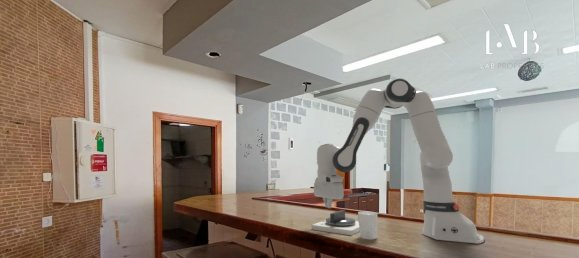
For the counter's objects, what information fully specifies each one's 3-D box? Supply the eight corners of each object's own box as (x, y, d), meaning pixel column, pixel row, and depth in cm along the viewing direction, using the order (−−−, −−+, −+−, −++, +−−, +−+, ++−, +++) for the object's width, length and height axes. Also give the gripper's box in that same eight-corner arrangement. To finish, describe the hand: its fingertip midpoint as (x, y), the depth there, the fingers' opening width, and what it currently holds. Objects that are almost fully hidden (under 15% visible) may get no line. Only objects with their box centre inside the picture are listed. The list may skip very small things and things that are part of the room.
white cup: (379, 236, 119) (378, 212, 120) (377, 240, 112) (375, 215, 113) (360, 234, 122) (359, 210, 123) (357, 238, 115) (356, 213, 116)
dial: (333, 219, 144) (333, 208, 145) (359, 222, 136) (359, 210, 137) (318, 224, 132) (318, 212, 132) (346, 228, 124) (346, 215, 124)
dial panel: (368, 226, 136) (368, 222, 137) (351, 235, 120) (351, 230, 121) (331, 221, 148) (331, 217, 148) (311, 229, 132) (311, 224, 132)
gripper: (310, 177, 141) (311, 205, 140) (333, 178, 123) (335, 211, 122) (320, 177, 144) (321, 204, 142) (345, 178, 126) (347, 209, 124)
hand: (328, 207), depth 132 cm, fingers closed
